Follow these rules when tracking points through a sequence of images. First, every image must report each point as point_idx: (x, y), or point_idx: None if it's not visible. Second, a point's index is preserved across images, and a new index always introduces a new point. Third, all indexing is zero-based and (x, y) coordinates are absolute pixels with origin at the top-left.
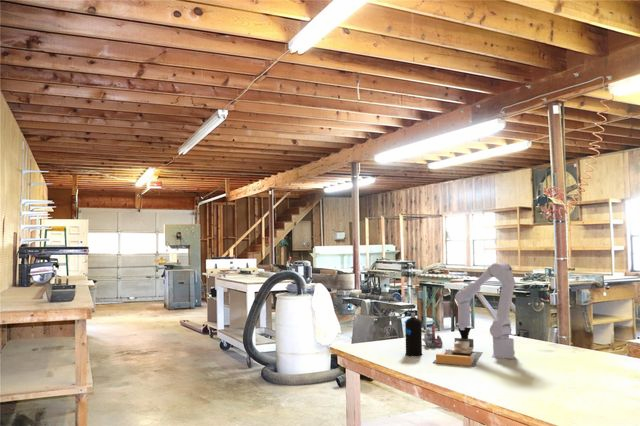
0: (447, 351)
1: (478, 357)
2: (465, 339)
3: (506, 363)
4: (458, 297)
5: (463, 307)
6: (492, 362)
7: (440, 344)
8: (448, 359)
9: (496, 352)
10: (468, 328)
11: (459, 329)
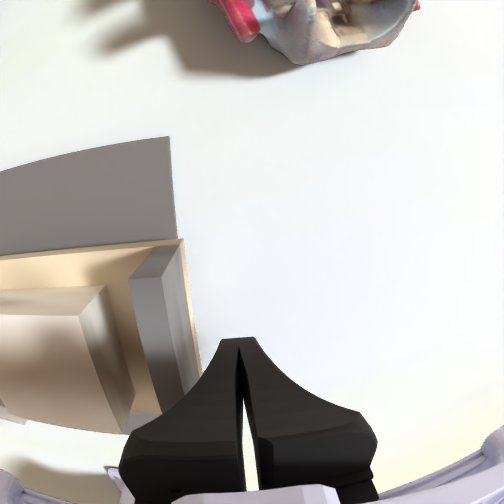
0: (76, 185)
1: None
2: (163, 410)
3: (56, 487)
4: None
5: None
6: (27, 454)
7: (285, 44)
8: None
9: (120, 499)
10: None
11: (122, 463)
